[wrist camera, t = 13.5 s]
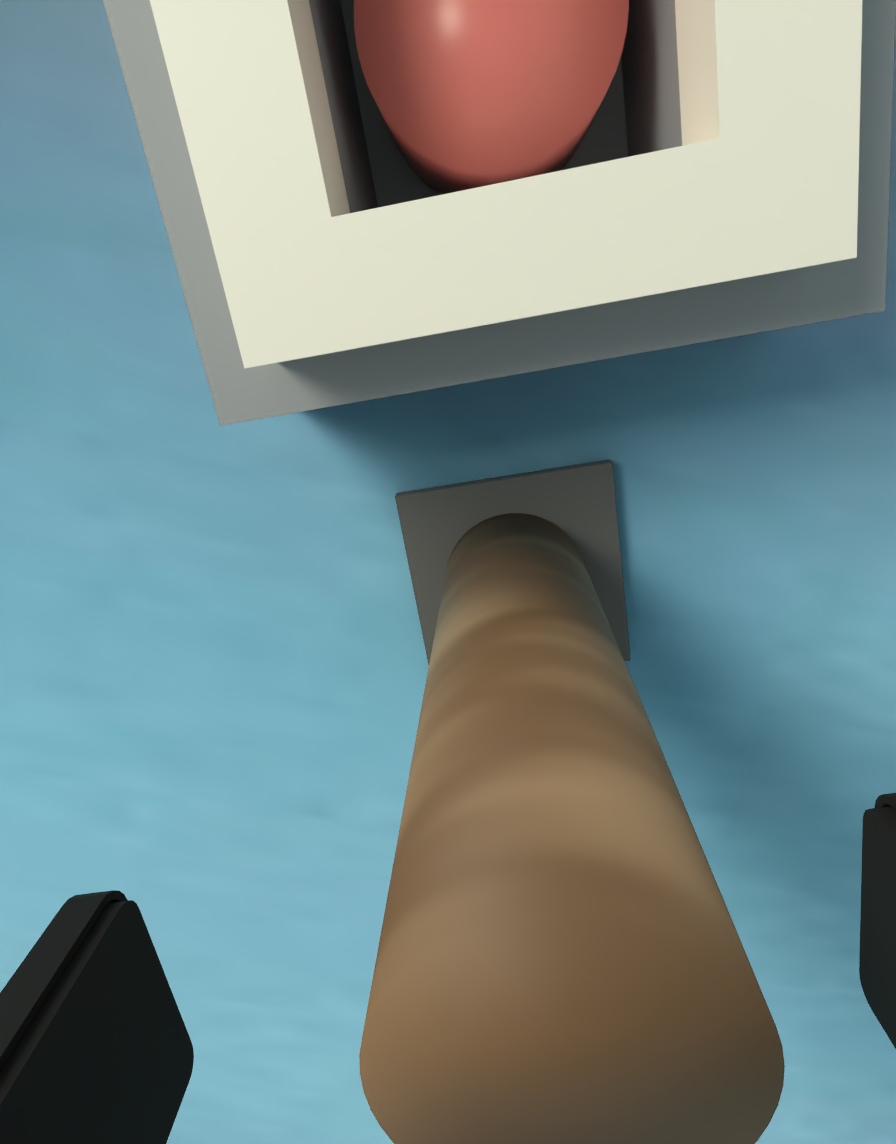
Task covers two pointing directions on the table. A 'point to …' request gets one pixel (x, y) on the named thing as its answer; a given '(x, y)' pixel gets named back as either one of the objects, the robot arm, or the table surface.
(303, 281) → the grey white square holder
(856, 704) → the table surface
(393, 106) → the egg
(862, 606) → the table surface
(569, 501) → the coaster
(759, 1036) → the brown rounded cylinder
